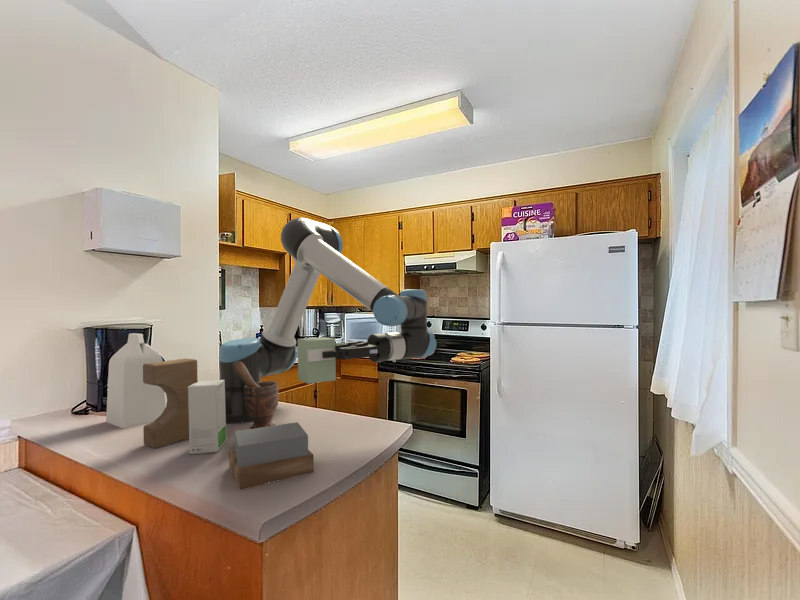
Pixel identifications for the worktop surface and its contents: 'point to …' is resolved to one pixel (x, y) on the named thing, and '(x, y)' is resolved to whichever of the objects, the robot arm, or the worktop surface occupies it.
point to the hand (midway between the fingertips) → (302, 354)
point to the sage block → (315, 369)
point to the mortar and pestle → (258, 397)
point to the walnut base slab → (269, 470)
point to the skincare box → (207, 416)
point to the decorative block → (170, 400)
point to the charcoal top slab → (270, 444)
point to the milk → (133, 386)
